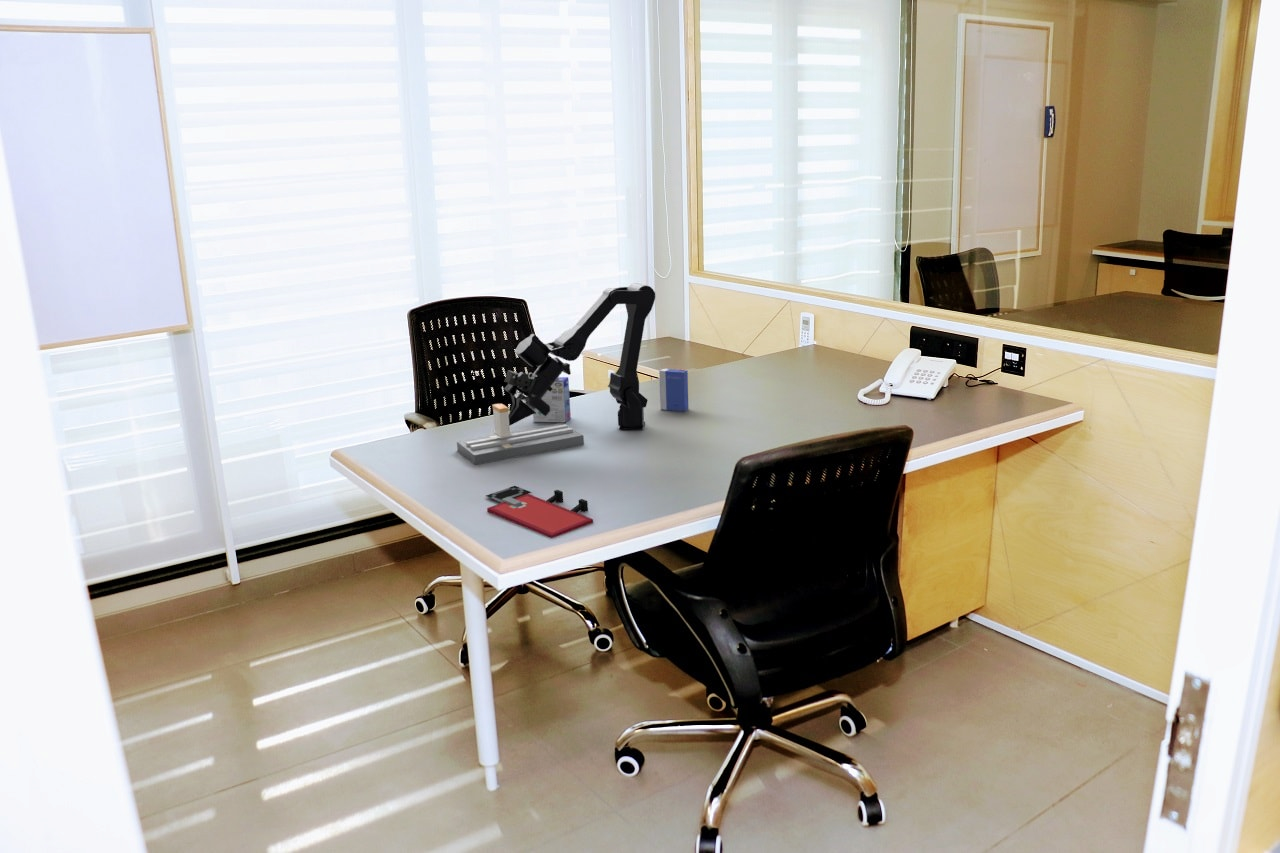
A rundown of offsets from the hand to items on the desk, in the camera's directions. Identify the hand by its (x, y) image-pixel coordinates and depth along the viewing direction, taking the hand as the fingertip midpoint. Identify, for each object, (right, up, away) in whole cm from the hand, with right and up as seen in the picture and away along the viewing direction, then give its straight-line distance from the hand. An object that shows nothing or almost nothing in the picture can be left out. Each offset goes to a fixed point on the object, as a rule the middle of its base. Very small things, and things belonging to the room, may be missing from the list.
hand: (507, 424), depth 269 cm
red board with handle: (+12, -20, -41) cm, 47 cm away
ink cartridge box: (+9, +1, +28) cm, 29 cm away
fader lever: (-1, -4, +1) cm, 4 cm away
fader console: (+3, -6, +3) cm, 7 cm away
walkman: (+45, +4, +34) cm, 56 cm away
